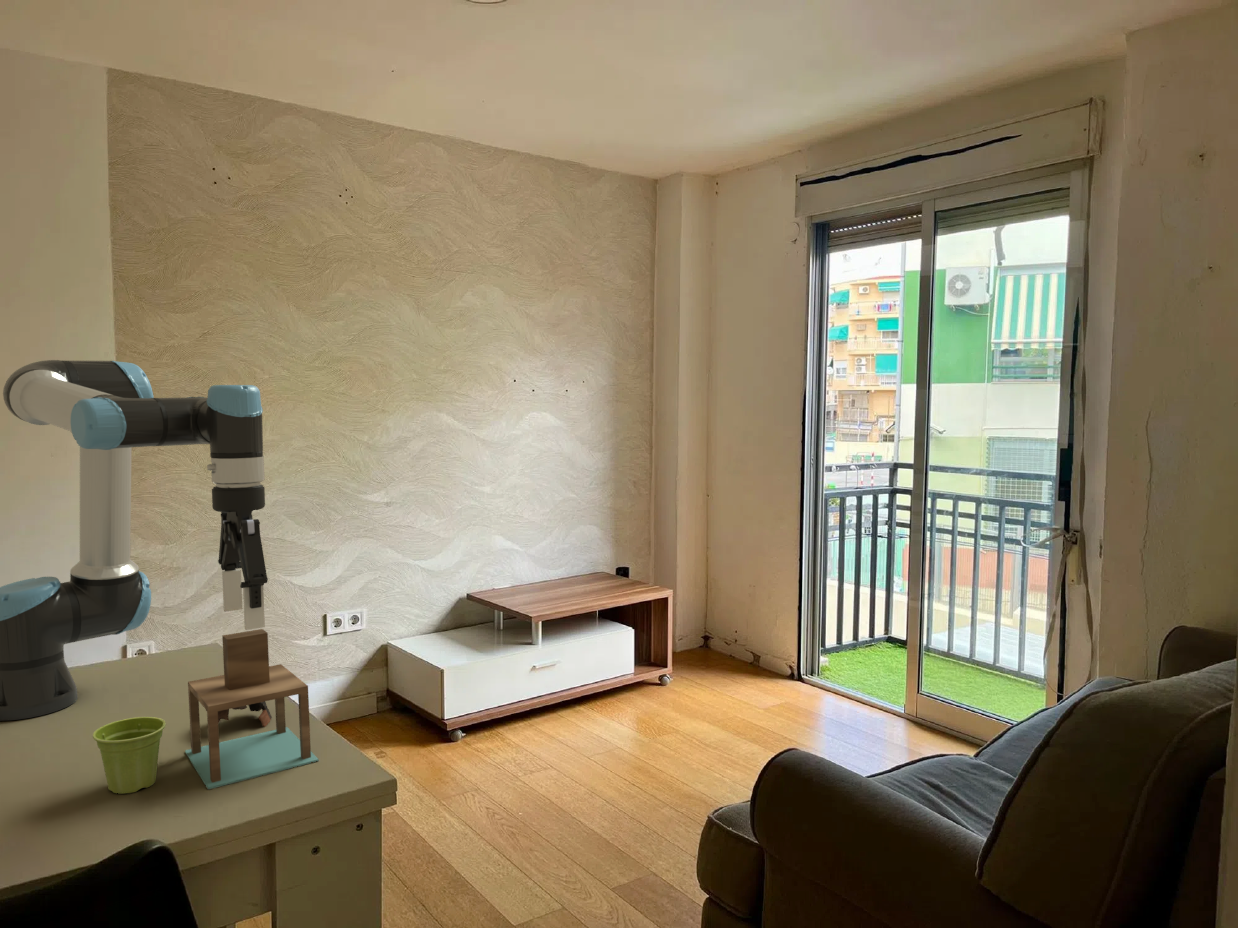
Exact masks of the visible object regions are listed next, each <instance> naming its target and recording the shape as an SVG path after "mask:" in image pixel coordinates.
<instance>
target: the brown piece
mask: <svg viewBox="0 0 1238 928" xmlns="http://www.w3.org/2000/svg"><path fill="white" fill-rule="evenodd" d="M268 636H269V634H268V632H267V630H264V628H258V629H252V630H246V631H242V632H236V633H235V632H234V633H231V634H230V633H229V634H223V635H222V638H221V639H222V640H221V641H222V655H223V656H222V657H223V658H222V659H223V674H221V675H216V676H211V677H206V678H200V679H195V680H189V681H187V691H188V692H187V694H188V711H189V712H188V713H189V729H190V731H189V732H190V746H191V747H190V749H191V752H192V753H193V754H196V753H200V752H201V747H202V742H201V741H202V738H201V737H202V736H201V723H200V721H201V720H200V704H201V705H202V706H203V708H204V709H205V711H206V710H207V711H206V717H207V737H208V738H207V739H208V745H209V762H210V780H211V782H212V783H213V782H217V781H221V770H220V749H219V742H220V734H219V733H220V732H219V723H218V711H222V710H227V709H229V710H231V708H236V707H241V706H245V705H246V706H248V705H250V704H255V703H260V702H264V701H265V702H268V701H273V700H274V705H275V707H274V708H275V727H276V728H275V730H276V732H277V733H278V734H280V733H285V732H286V727H287V726H286V712H285V711H286V705H285V698H286V697H287V698H288V697H291V696H297V697H298V698H297V699H298V720H299V721H298V722H299V740H300V749H301V758H302V759H306V758H310V757H311V752H312V751H311V750H312V748H311V726H310V725H311V724H310V703H309V701H310V699H309V698H310V697H309V685H308V684H306V683H305V682H304V681H303V680H301V679H300V678H299V677H298V676H296V674H294V673H292V671H290V670H289V669H288V668H286V667H285V666H284V665H283V664H282V663H279V664H274V665H270V658H269V657H270V655H269V637H268Z"/></svg>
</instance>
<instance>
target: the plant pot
mask: <svg viewBox="0 0 1238 928" xmlns="http://www.w3.org/2000/svg"><path fill="white" fill-rule="evenodd" d="M166 723H167V722H166V721H165V719H163V718H160V717H154V716H137V717H130V718H129V717H128V718H125V719H120V720H115V721H112V722H109V723H107V724H105V725H102V726H101V727H98V728H96V730H94V732H93V733H92V739H93V740H94V741H95V742H96V745H97V748H98V749H99V752H100V755H101V760H102V765H103V768H104V774H105V778H106V784H107V789H108V791H111V792H112V793H114V794H117V793H118V795H119V794H120V795H121V794H122V795H123V794H133V793H136V792H138V791H139V790H141V789H143V788H149V787H151V786H152V785H154V783H156V780H157V773H158V772H157V771H158V769H157V768H158V760H159V753H160V752H159V751H160V743H161V738H162V737H163V731H164V730H165V728H166V725H167V724H166Z"/></svg>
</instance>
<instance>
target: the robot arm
mask: <svg viewBox="0 0 1238 928" xmlns="http://www.w3.org/2000/svg"><path fill="white" fill-rule="evenodd" d="M2 396H3V400H4V404H5V406H6V407H7V409H8V411H9V412H10V413H11V414H12V415H14V416H15V417H16V418H18V419H19V420H20V421H22V422H23V421H24V422H26V423H29V424H31V425H36V426H48V425H53V426H55V427H57V428H59V429H63V430H66V431H67V432H68V431H69V433H71V434H72V437H73V439H74V440H75V441H76V444H77V446H79V561H78V562H77V563H76V564H75V565H73V566H72V567H71V568H70V570H69V572H70V573H69V574H70V575H69V577H70V579H69V581H66V582H64V581H63V582H61V581H60V579H59V578H58V577H57V576H41V577H36V578H35V577H32V578H27V579H24V580H23V579H22V580H18V581H15V582H14V581H13V582H11V583H8V584H5V585H2V586H0V722H1V721H15V720H17V721H18V720H24V719H31V718H35V717H40V716H44V715H47V714H51V713H54V712H55V713H56V712H58V711H60V710H63V709H65V708H67V707H70V706H71V705H73V704H74V703H76V702H77V701H78V688H77V684H76V682H75V680H74V678H73V676H72V674H71V672H70V670H69V668H68V665H67V663H66V662H65V654H64V653H65V651H64V645H67V644H71V643H77V642H81V641H86V640H92V639H96V638H102V637H107V636H112V635H120V634H122V633H124V632H128V631H132V630H135V629H138V628H139V627H140V626H141V625H142V624H143V623H145V621H146V619H147V618H148V616H149V613H150V609H151V604H152V590H151V588H150V585H151V584H150V580H149V578H148V576H147V574H145V573H144V572H143V571H140V567H139V565H138V564H137V563H136V562H135V561H133V560H132V559H131V548H132V547H131V545H132V543H131V541H132V539H131V538H132V537H131V533H132V531H131V530H132V527H131V526H132V451H133V450H132V449H133V448H143V447H145V448H147V447H170V446H171V447H172V446H188V445H189V446H191V445H192V446H193V445H209V450H210V451H209V452H210V455H209V457H210V462H211V463H209V464H207V466H206V469H207V471H211V482H212V483H213V484H214V485H215V486H213V487H212V488H211V499H212V500H211V503H212V506H211V507H212V509H213V511H215V512H219V513H220V519H221V521H220V522H221V523H220V524H221V525H220V534H219V535H220V537H219V547H218V549H219V551H218V559H217V563H218V564H219V566H220V569H221V571H222V572H221V574H222V576H221V577H222V578H221V579H222V597H223V601H222V602H223V611H224V612H233V611H238V610H239V611H240V610H243V615H244V616H243V620H244V621H243V622H244V623H243V624H244V630H246V631H251V630H257V629H264V628H266V624H265V601H264V600H265V598H264V597H265V595H264V592H265V591H264V585H265V584H267V583H268V582H269V581H268V575H267V568H266V563H265V557H264V549H263V545H262V538H261V529H260V528H261V527H260V525H261V523H260V519H258V518H255V519H254V518H253V514H252V513H253V512H254V511H259V510H261V509H264V508H265V506H266V494H265V493H266V492H265V486H264V484H261V483H262V482H264V481H265V460H264V458H265V457H264V442H263V441H264V438H263V432H264V431H263V412H264V411H263V410H264V409H263V406H262V398H261V392H260V389H259V388H258V386H256V385H253V384H215V385H211V386H209V388H208V390H207V397H205V396H188V397H155V396H154V393H153V388H152V384H151V382H150V380H149V378H148V376H147V374H146V373H145V371H144V370H143V369H142V368H141V367H140V366H139V365H138V364H135V363H132V362H126V361H117V360H116V361H115V360H59V359H47V360H40V361H36V362H32V363H28V364H26V365H24V366H21V367H20V368H18V369H16V370H15V371H14V372H13V373H12V374H10V375H9V377H8V378H7V380H6V381H5V383H4V387H3V390H2ZM242 576H243V581H242Z"/></svg>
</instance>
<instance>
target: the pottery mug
mask: <svg viewBox="0 0 1238 928" xmlns="http://www.w3.org/2000/svg"><path fill="white" fill-rule="evenodd" d="M247 708H249V711H250V712H260V711H261V710H262V711H261V714H260V715H259V716H258V720H259V721H260V723H261V726H262V727H263V728H265V727H267V726H268V724H270V722H271V721H272V718H273V717H272V714H271V712H270V710H269V708H268V705H267V701H264V702H260V703H255V704H250V705H245V706H241V707H236V708H231V709H232V710H234V711H235V710H236V711H237V710H240V711H241V710H246V709H247ZM231 709H227V710H222V711H218V724H219V723H220V721H222V720H225V721H229V720H230V717H229V713H230V710H231ZM205 711H206V712H207V710H206V709H205Z"/></svg>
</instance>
